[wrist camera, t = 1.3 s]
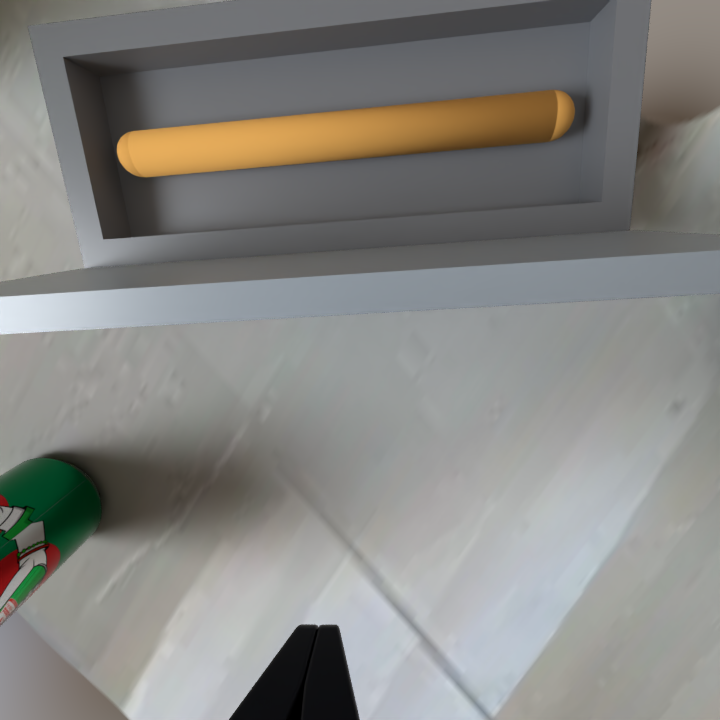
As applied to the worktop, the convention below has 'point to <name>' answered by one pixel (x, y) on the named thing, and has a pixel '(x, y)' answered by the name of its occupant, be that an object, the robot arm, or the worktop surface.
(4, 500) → the soda can
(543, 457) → the worktop surface
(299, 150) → the orange rounded rod
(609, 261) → the cover
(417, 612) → the worktop surface
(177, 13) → the grey rectangular tray
